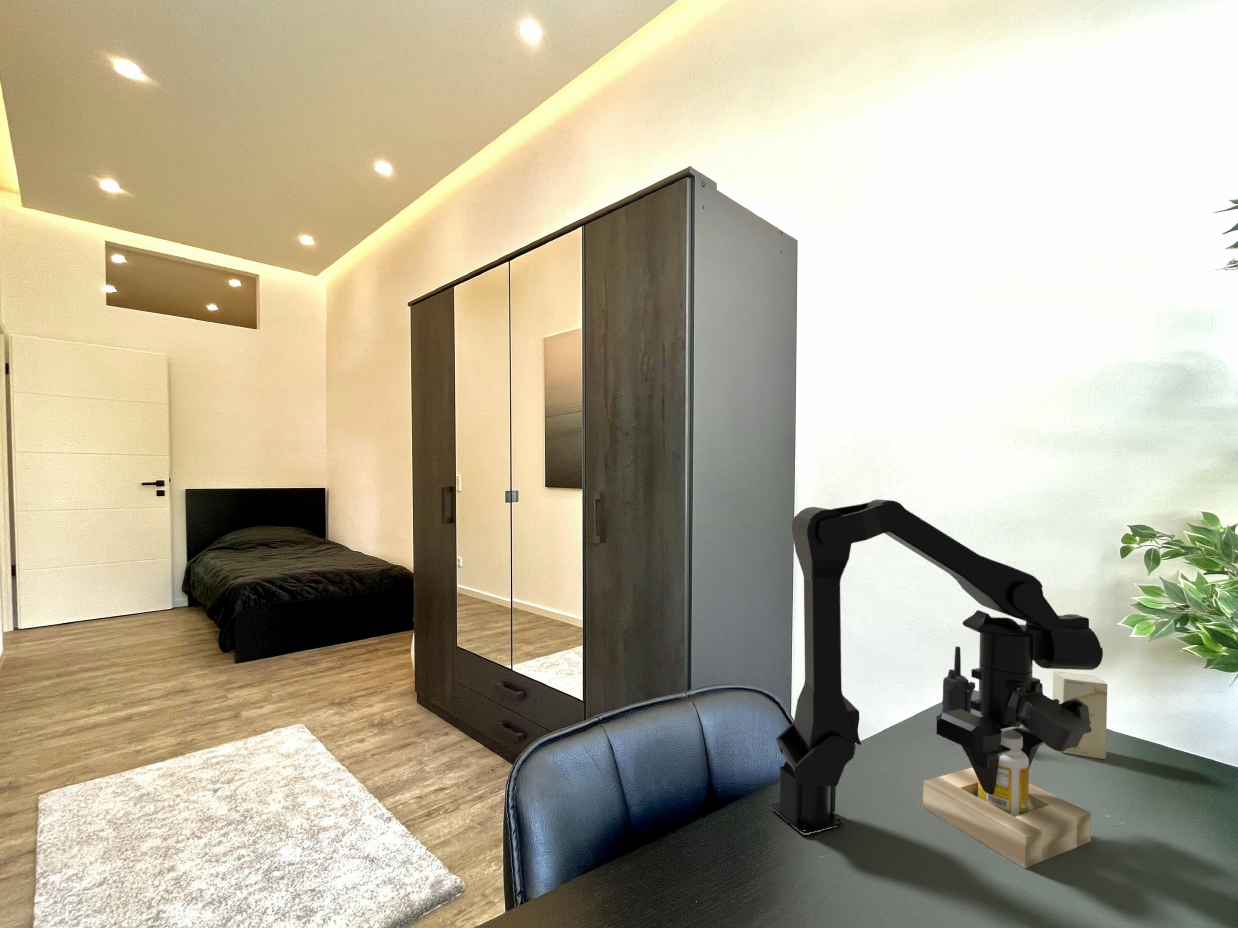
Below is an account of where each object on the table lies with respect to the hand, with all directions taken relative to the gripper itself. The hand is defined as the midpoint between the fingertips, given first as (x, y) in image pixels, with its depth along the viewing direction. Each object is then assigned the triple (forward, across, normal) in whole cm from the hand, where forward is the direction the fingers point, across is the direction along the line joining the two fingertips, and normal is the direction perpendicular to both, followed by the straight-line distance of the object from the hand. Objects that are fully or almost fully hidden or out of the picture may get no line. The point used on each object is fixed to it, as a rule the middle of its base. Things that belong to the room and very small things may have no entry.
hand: (1002, 788), depth 74 cm
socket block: (+4, 0, 0) cm, 4 cm away
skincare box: (+4, +33, +8) cm, 34 cm away
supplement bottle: (+3, 0, 0) cm, 3 cm away
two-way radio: (+5, +19, +20) cm, 28 cm away
